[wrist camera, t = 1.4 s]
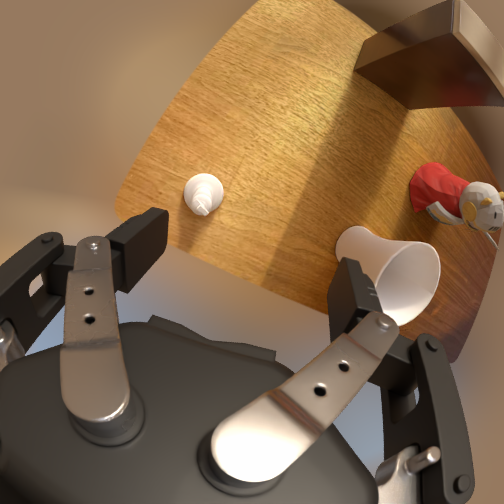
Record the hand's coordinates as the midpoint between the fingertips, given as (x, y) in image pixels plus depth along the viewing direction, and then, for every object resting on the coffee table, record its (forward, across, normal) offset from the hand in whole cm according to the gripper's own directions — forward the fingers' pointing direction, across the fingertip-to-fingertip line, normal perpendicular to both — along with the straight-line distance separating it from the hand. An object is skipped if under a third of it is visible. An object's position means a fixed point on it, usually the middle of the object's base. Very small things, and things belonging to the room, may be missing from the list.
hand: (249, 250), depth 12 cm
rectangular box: (+31, -12, -18) cm, 38 cm away
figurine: (+32, -26, -2) cm, 41 cm away
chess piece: (+20, +8, +5) cm, 23 cm away
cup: (+26, -13, +9) cm, 31 cm away
